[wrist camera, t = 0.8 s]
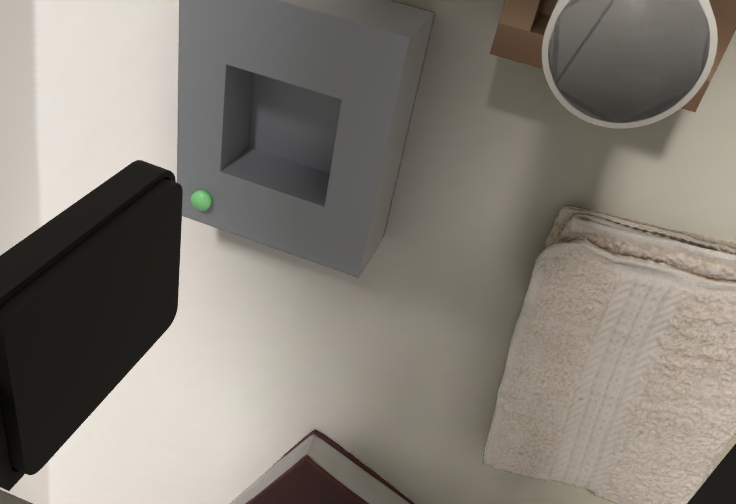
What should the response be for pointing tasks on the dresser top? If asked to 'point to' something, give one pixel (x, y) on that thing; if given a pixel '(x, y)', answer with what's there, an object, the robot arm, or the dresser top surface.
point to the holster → (533, 11)
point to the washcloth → (621, 361)
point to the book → (320, 478)
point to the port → (297, 119)
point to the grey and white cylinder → (628, 57)
